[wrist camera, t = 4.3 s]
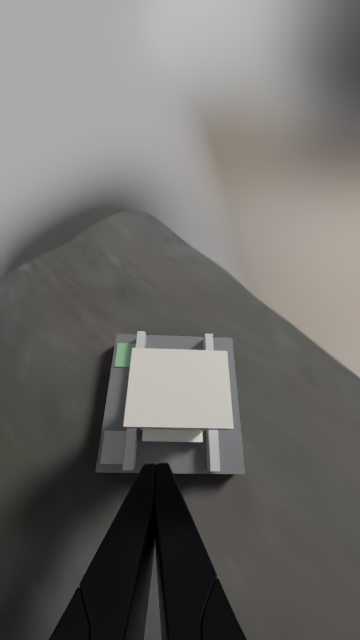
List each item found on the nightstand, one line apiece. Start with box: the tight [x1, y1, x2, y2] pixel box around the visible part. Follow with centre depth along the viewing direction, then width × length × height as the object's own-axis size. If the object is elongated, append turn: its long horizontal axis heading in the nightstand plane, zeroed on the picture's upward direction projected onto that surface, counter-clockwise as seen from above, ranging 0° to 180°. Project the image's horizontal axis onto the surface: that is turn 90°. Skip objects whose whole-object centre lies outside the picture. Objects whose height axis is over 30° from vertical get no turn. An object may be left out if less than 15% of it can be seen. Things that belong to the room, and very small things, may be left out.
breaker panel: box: [95, 331, 245, 474], centre depth 15 cm, size 8×8×2 cm
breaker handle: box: [123, 348, 234, 442], centre depth 11 cm, size 3×3×7 cm
